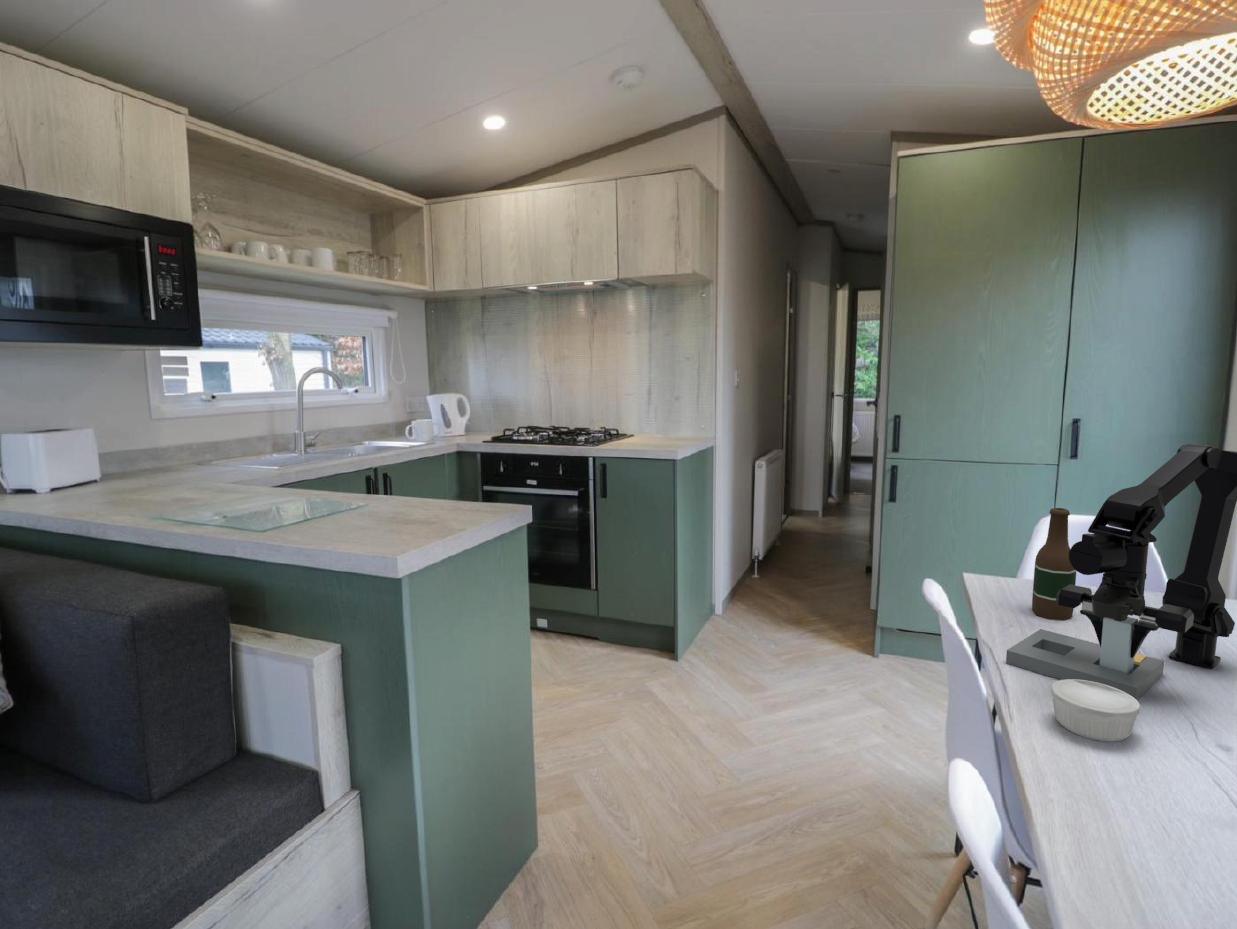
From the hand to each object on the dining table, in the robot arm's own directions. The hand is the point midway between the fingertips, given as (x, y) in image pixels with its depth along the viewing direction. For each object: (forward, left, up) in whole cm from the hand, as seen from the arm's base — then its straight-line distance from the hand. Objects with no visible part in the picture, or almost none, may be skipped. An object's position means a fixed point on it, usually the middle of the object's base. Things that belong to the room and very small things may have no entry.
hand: (1117, 653), depth 120 cm
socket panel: (0, -5, -4) cm, 7 cm away
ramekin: (+22, +3, -5) cm, 23 cm away
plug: (0, 0, -4) cm, 4 cm away
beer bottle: (-26, -19, -5) cm, 33 cm away
